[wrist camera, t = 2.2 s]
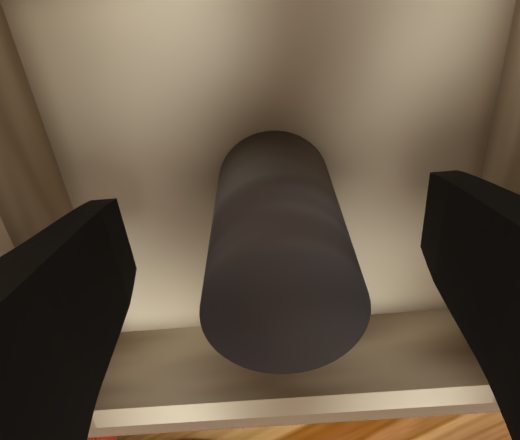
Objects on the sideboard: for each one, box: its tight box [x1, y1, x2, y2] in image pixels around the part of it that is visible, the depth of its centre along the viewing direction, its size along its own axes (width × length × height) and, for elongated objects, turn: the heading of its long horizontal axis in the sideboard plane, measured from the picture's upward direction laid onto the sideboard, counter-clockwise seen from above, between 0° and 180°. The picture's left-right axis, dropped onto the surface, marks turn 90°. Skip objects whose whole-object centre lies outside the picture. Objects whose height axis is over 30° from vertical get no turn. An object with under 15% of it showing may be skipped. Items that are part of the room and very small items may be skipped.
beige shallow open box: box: [0, 0, 520, 428], centre depth 10 cm, size 13×12×6 cm
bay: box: [88, 403, 501, 438], centre depth 11 cm, size 26×15×5 cm, turn 95°
